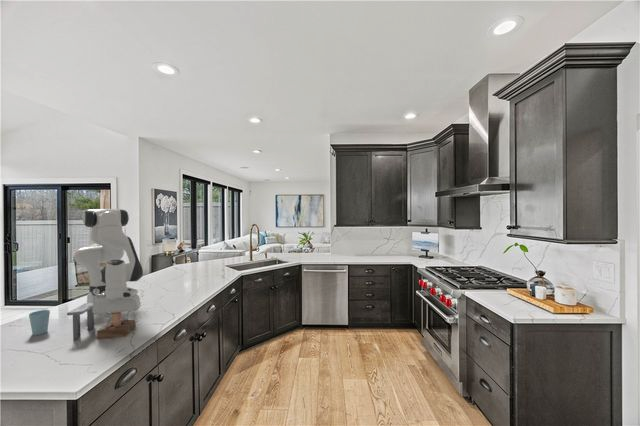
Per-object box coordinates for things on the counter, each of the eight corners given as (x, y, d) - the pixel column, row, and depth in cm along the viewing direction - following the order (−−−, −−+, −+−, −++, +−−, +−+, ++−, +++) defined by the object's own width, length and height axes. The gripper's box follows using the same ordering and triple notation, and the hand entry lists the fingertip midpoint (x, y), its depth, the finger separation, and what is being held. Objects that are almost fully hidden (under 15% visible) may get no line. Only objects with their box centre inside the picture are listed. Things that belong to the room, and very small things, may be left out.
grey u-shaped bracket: (85, 328, 153) (85, 303, 153) (99, 327, 155) (98, 302, 154) (67, 340, 139) (67, 312, 139) (82, 339, 140) (81, 311, 140)
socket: (109, 329, 152) (109, 321, 152) (135, 327, 154) (135, 319, 154) (97, 339, 140) (97, 330, 140) (125, 336, 142) (125, 328, 142)
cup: (30, 337, 143) (30, 316, 143) (28, 333, 148) (27, 312, 148) (51, 332, 149) (51, 311, 149) (48, 328, 154) (48, 308, 154)
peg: (111, 334, 145) (111, 314, 145) (115, 331, 148) (114, 312, 148) (119, 333, 146) (119, 313, 146) (122, 331, 149) (122, 311, 149)
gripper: (89, 296, 142) (89, 325, 142) (136, 293, 146) (136, 321, 146) (96, 292, 148) (96, 320, 148) (141, 289, 152) (141, 316, 152)
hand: (117, 320), depth 147 cm, fingers open, 8 cm apart
